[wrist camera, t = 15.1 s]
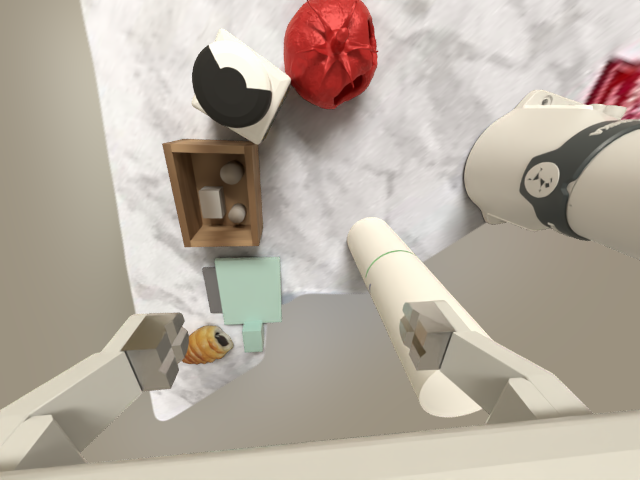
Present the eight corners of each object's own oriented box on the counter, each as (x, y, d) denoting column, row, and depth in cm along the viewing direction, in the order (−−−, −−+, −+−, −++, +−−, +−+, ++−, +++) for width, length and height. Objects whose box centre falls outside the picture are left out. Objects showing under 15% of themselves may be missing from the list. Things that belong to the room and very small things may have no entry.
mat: (268, 265, 41) (268, 267, 40) (271, 307, 45) (270, 310, 44) (203, 267, 40) (202, 269, 39) (211, 310, 43) (210, 312, 43)
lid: (279, 256, 40) (279, 267, 37) (282, 336, 47) (281, 350, 44) (215, 258, 39) (210, 268, 36) (228, 339, 46) (224, 353, 43)
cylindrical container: (348, 260, 42) (416, 424, 20) (345, 220, 39) (422, 363, 17) (390, 253, 42) (503, 407, 20) (390, 214, 39) (526, 344, 17)
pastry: (196, 361, 49) (189, 380, 45) (171, 340, 46) (161, 358, 42) (237, 341, 47) (233, 358, 44) (213, 317, 45) (207, 334, 41)
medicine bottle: (264, 140, 33) (252, 152, 22) (209, 107, 30) (167, 102, 20) (291, 85, 30) (293, 69, 20) (235, 45, 28) (202, 2, 17)
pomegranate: (271, 82, 30) (261, 69, 22) (308, -17, 27) (314, -76, 18) (342, 124, 33) (358, 127, 25) (385, 39, 29) (420, 10, 21)
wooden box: (257, 141, 33) (251, 146, 27) (263, 227, 38) (258, 245, 32) (183, 138, 32) (162, 143, 26) (199, 227, 37) (184, 247, 31)
